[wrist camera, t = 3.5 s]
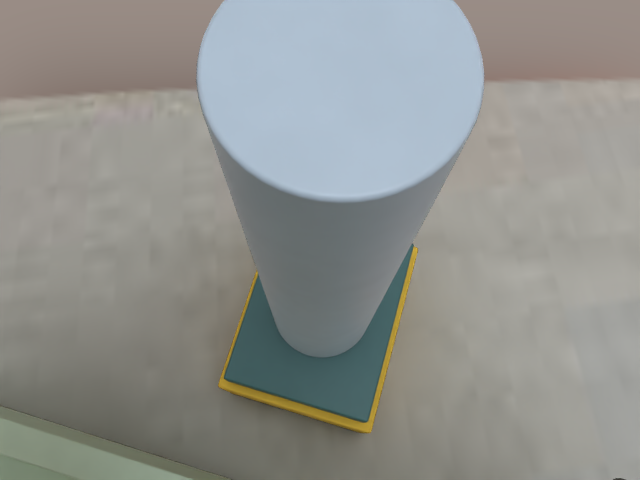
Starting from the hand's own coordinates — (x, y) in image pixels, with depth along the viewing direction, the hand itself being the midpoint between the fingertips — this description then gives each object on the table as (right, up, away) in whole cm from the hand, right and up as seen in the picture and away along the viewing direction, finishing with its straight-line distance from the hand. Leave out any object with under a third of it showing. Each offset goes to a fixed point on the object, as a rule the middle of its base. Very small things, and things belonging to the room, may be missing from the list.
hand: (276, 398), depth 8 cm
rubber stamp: (+1, -1, +10) cm, 10 cm away
